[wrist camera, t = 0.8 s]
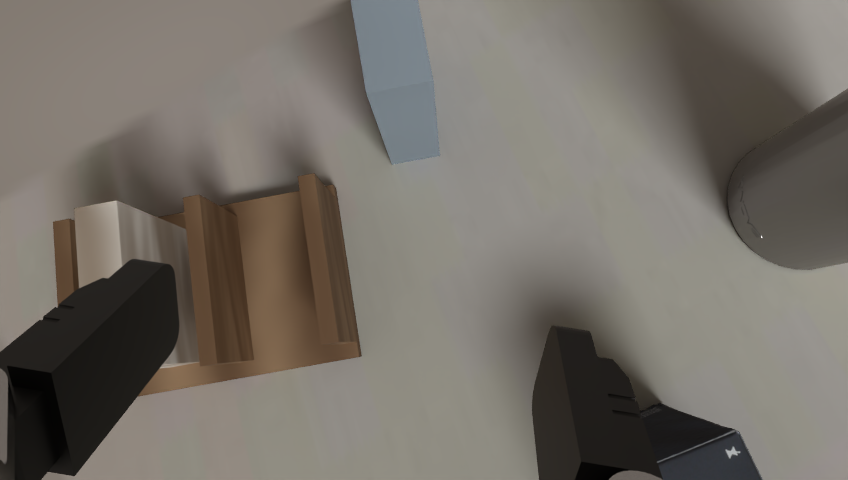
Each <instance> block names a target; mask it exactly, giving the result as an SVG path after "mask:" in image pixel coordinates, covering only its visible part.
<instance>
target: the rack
mask: <svg viewBox="0 0 848 480" xmlns="http://www.w3.org/2000/svg"><path fill="white" fill-rule="evenodd" d="M298 182H299V189H300V191H296V192H291V193H285V194H280V195H274V196H269V197H264V198H258V199H253V200H247V201H242V202H237V203H231V204H226V205H220V206H218V205H217V204H215V203H213V202H211V201H210V200H208V199H206V198H204V197H203V196H201V195H195V196H189V197H184V198H183V203H184V212H183V213H177V214H172V215H167V216H161V217H155V216H153V215H151V214H148V213H146V212H143V211H141V210H139V209H136V208H134V207H131V206H129V205H127V204H124V203H122V202H119V201H117V200H116V201H111V202H106V203H100V204H95V205H89V206H84V207H79V208H74V215H75V220H71V219H66V220H60V221H55V222H53V229H54V247H55V265H56V282H57V300H58V306H59V304H60V303H61V302H62V301H63V300H65V299H66V298H67V297H68V296H69V295H71V294H72V293H73V292H74V291H75V290H77V289H79V288H81V287H83V286H85V285H88V284H90V283H92V282H94V281H96V280H99V279H101V278H109V277H110V276H112V275H113V274H114V273H115V272H116V271H117V270H119V269H120V268H121V267H122V266H123V265H124V264H126V263H127V262H128V261H129V260H131V259H140V260H146V261H152V262H159V263H165V264H170V265H171V266H172V267H173V269H174V272H175V279H176V290H177V302H178V313H179V325H180V327H179V335H178V339H177V342H176V345H175V347H174V350H173V351H172V353H171V354H170V356H169V357H168V358H167V360H166V361H165V362H164V363H163V365H162V366H161V367H160V368H159V370H158V371H157V372H156V373H155V375H154V376H153V377H152V379H151V380H150V381H149V382H148V384H147V385H146V386H145V387H144V389H143V390H142V391H141V393H140V394H139V395H138V396H143V395H148V394H154V393H159V392H165V391H171V390H176V389H182V388H187V387H193V386H199V385H204V384H210V383H215V382H221V381H227V380H232V379H238V378H243V377H249V376H255V375H260V374H266V373H271V372H277V371H283V370H288V369H294V368H299V367H305V366H311V365H316V364H322V363H327V362H333V361H339V360H344V359H350V358H355V357H361V349H360V343H359V336H358V330H357V323H356V316H355V310H354V303H353V297H352V290H351V284H350V277H349V270H348V264H347V257H346V251H345V244H344V238H343V231H342V224H341V218H340V211H339V205H338V198H337V191H336V188H335V186H334V185H328V186H324V184H323V183H322V182H321V181H320V180H319V178H318V177H317V176H316V175H315V174H314V173H313V174H308V175H302V176H298Z"/></svg>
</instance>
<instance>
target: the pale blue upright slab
mask: <svg viewBox="0 0 848 480" xmlns="http://www.w3.org/2000/svg"><path fill="white" fill-rule="evenodd" d="M351 6H352V12H353V18H354V23H355V29H356V35H357V41H358V47H359V53H360V59H361V65H362V71H363V77H364V83H365V89H366V94H367V97H368V100H369V102H370V105H371V108H372V111H373V114H374V116H375V119H376V122H377V125H378V127H379V130H380V133H381V136H382V138H383V141H384V144H385V147H386V149H387V152H388V155H389V158H390V161H391V163H392V165H393V164H398V163H403V162H409V161H414V160H420V159H425V158H430V157H436V156H440V152H439V141H438V129H437V118H436V106H435V94H434V83H433V76H432V71H431V66H430V61H429V56H428V50H427V45H426V40H425V35H424V29H423V24H422V19H421V14H420V9H419V3H418V0H351Z"/></svg>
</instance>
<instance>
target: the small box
mask: <svg viewBox="0 0 848 480" xmlns="http://www.w3.org/2000/svg"><path fill="white" fill-rule="evenodd" d="M640 413H641V418H642V419H643V422H644V425H645V428H646V430H647V433H648V436H649V439H650V442H651V445H652V448H653V451H654V454H655V457H656V460H657V463H658V466H659V469H660V472H661V475H662V478H663V480H763V479H762V477H761V475H760V473H759V471H758V469H757V467H756V465H755V463H754V461H753V459H752V456H751V455H750V453H749V451H748V449H747V447H746V445H745V443H744V441H743V438H742V436H741V434H740V432H739V431H737V430H735V429H732V428H727V427H723V426H720V425H718V424H715V423H713V422H710V421H706V420H704V419H701V418H698V417H695V416H692V415H689V414H686V413H684V412H681V411H678V410H675V409H673V408H670V407H668V406H666V405H664V404H661V403H658V404H657V405H653V406H651V407H649V409H647V410H644V411H643V410H642V411H640Z"/></svg>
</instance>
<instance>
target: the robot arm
mask: <svg viewBox="0 0 848 480" xmlns="http://www.w3.org/2000/svg"><path fill="white" fill-rule="evenodd" d="M727 202H728V208H729V214H730V217H731V220H732V222H733V225H734V227H735V229H736V231H737V232H738V234H739V235H740V237H741V238H742V240H743V241H744V242H745V243H746V244H747V245H748V246H749V247H750V248H751V249H752V250H753V251H754V252H755V253H757V254H758V255H760V256H761V257H763V258H764V259H766V260H768V261H770V262H772V263H774V264H777V265H779V266H782V267H787V268H791V269H800V270H812V269H817V268H822V267H827V266H833V265H838V264H843V263H848V89H846V90H845V91H843V92H842V93H840V94H839V95H837V96H835V97H834V98H832V99H831V100H829V101H828V102H826V103H825V104H823V105H821V106H820V107H818V108H817V109H815V110H814V111H812V112H811V113H809V114H807V115H806V116H804V117H803V118H801V119H800V120H798V121H797V122H795V123H793V124H792V125H790V126H789V127H787V128H785V129H784V130H782V131H781V132H779V133H778V134H776V135H775V136H773V137H772V138H770V139H769V140H767V141H765V142H764V143H762V144H761V145H759V146H758V147H756V148H755V149H753V150H752V151H750V152H749V153H748V154H747V155H746V156H745V157H744V158H743V159H742V160H741V161H740V162H739V163H738V165H737V167H736V168H735V170H734V172H733V174H732V176H731V179H730V183H729V186H728V198H727ZM179 327H180V325H179V313H178V302H177V290H176V279H175V272H174V269H173V267H172V266H171V265H170V264H165V263H159V262H152V261H146V260H140V259H131V260H129V261H128V262H127V263H126V264H124V265H123V266H122V267H121V268H120V269H119V270H117V271H116V272H115V273H114V274H113V275H112V276H110V277H109V278H101V279H99V280H96V281H94V282H92V283H90V284H88V285H85V286H83V287H81V288H79V289H77V290H75V291H74V292H73V293H72V294H71V295H69V296H68V297H67V298H66V299H65V300H63V301H62V302H61V303H60V304H59V306H58V308H56V307H55V308H54V309H52V310H51V311H50V312H49V313H47V314H46V315H45V316H44V317H43V320H39V321H38V322H36V323H35V324H34V325H33V326H32V327H30V328H29V329H28V330H27V331H25V332H24V333H23V334H22V335H21V336H19V337H18V338H17V339H16V340H14V341H13V342H12V343H11V344H10V345H8V346H7V347H6V348H5V349H3V350H2V351H1V352H0V480H41V479H42V478H43V477H44V475H45V474H46V473H47V472H53V473H59V474H65V475H71V476H75V475H76V474H77V473H78V471H79V470H80V469H81V467H82V466H83V465H84V464H85V462H86V461H87V460H88V459H89V457H90V456H91V455H92V453H93V452H94V451H95V450H96V448H97V447H98V446H99V445H100V443H101V442H102V441H103V439H104V438H105V437H106V436H107V434H108V433H109V432H110V431H111V429H112V428H113V427H114V426H115V424H116V423H117V422H118V420H119V419H120V418H121V417H122V415H123V414H124V413H125V412H126V410H127V409H128V408H129V406H130V405H131V404H132V403H133V401H134V400H135V399H136V398H137V396H138V395H139V394H140V393H141V391H142V390H143V389H144V387H145V386H146V385H147V384H148V382H149V381H150V380H151V379H152V377H153V376H154V375H155V373H156V372H157V371H158V370H159V368H160V367H161V366H162V365H163V363H164V362H165V361H166V360H167V358H168V357H169V356H170V354H171V353H172V351H173V350H174V347H175V345H176V342H177V339H178V335H179ZM532 415H533V425H534V434H535V444H536V454H537V463H538V473H539V480H663V478H662V475H661V472H660V469H659V466H658V463H657V460H656V457H655V454H654V451H653V448H652V445H651V442H650V439H649V436H648V433H647V430H646V428H645V425H644V422H643V419H642V418H641V413H640V410H639V407H638V404H637V402H635V395H634V392H633V389H632V386H631V383H630V380H629V378H628V377H627V376H626V374H625V373H624V372H623V371H622V370H621V369H620V367H619V366H618V365H617V364H616V363H615V362H614V361H613V359H606V358H600V357H597V354H596V351H595V347H594V343H593V340H592V336H591V333H590V332H589V331H585V330H579V329H573V328H566V327H560V326H552V327H551V329H550V331H549V334H548V337H547V341H546V345H545V348H544V352H543V356H542V359H541V363H540V367H539V370H538V374H537V378H536V381H535V386H534V391H533V400H532Z"/></svg>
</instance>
